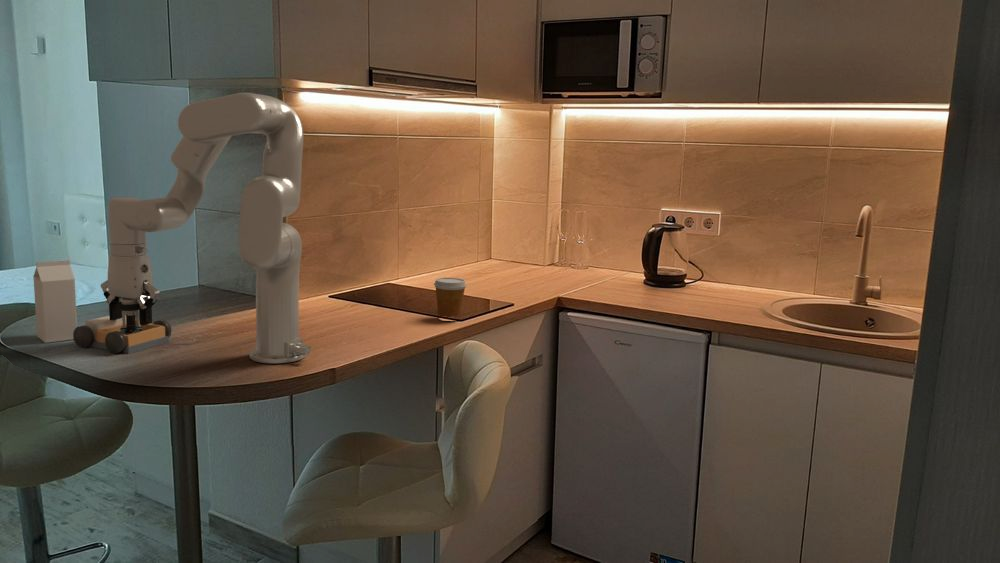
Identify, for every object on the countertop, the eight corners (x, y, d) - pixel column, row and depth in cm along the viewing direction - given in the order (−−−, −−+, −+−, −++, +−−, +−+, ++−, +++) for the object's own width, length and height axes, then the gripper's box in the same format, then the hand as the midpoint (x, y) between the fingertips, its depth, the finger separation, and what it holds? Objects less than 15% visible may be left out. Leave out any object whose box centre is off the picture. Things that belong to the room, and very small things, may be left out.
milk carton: (77, 339, 183) (74, 262, 179) (44, 343, 178) (40, 264, 174) (69, 333, 188) (65, 258, 184) (36, 337, 183) (32, 260, 179)
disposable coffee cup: (440, 314, 229) (441, 276, 227) (469, 318, 226) (471, 279, 224) (427, 321, 220) (429, 280, 218) (458, 325, 217) (459, 284, 215)
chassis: (173, 340, 185) (172, 319, 184) (123, 355, 172) (122, 331, 171) (124, 332, 191) (123, 311, 190) (72, 345, 177) (70, 322, 176)
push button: (149, 335, 184) (147, 295, 182) (150, 340, 179) (148, 300, 177) (119, 337, 181) (117, 296, 179) (119, 342, 176) (117, 301, 174)
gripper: (169, 252, 177) (171, 323, 180) (113, 245, 183) (116, 314, 186) (143, 255, 170) (146, 329, 173) (87, 248, 176) (90, 320, 179)
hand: (130, 321), depth 179 cm, fingers open, 9 cm apart
